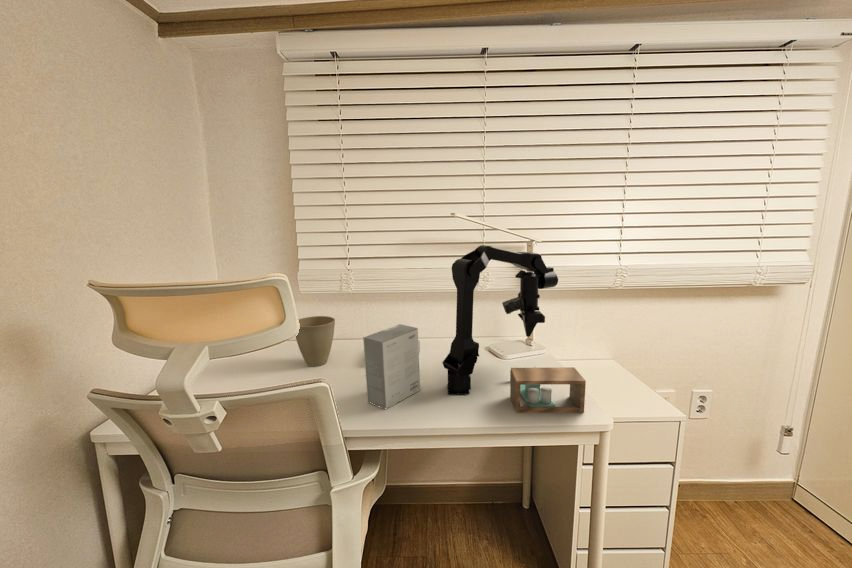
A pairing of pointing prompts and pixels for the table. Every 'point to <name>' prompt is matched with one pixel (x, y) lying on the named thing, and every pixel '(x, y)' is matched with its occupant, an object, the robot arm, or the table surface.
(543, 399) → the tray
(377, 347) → the hard drive box
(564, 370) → the shelf
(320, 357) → the plant pot
